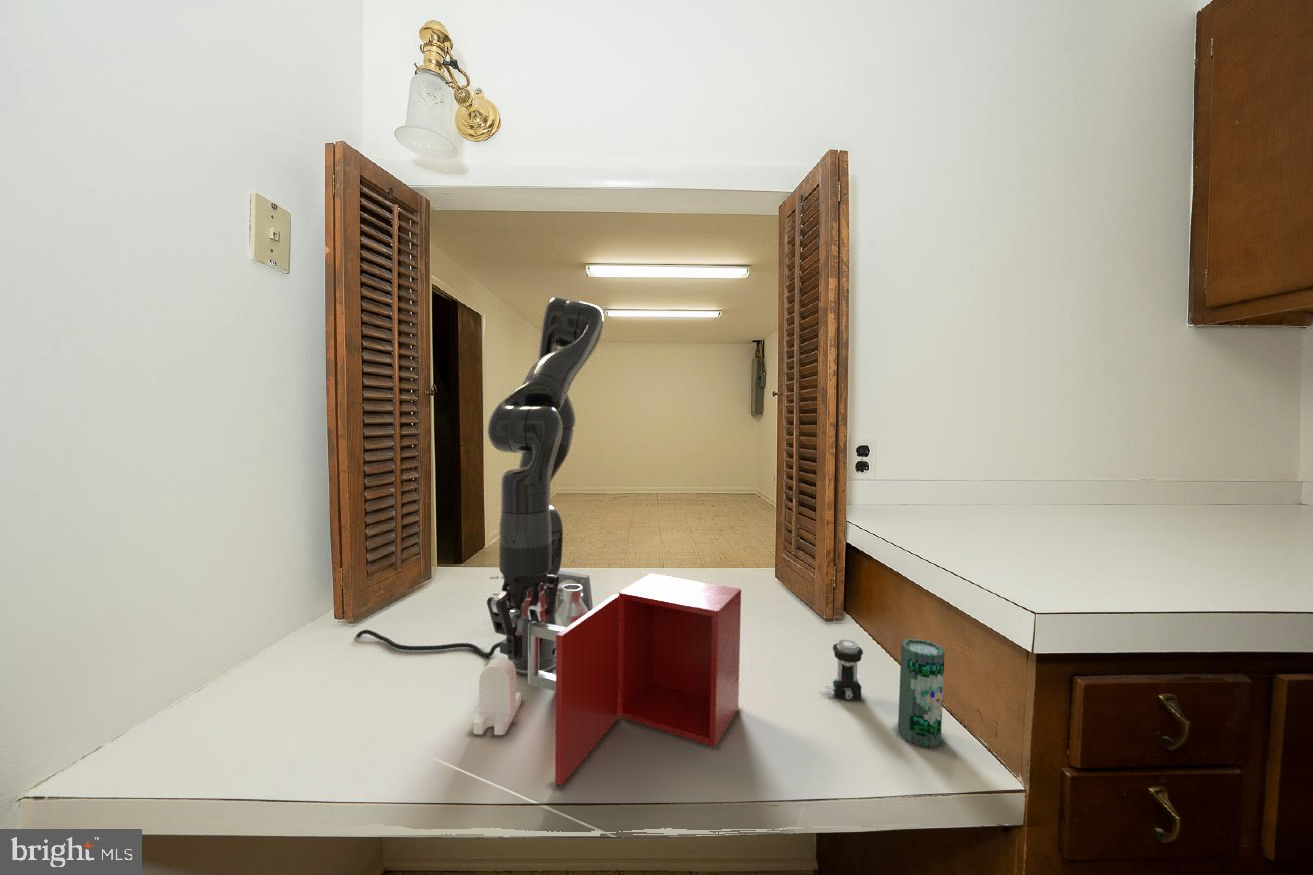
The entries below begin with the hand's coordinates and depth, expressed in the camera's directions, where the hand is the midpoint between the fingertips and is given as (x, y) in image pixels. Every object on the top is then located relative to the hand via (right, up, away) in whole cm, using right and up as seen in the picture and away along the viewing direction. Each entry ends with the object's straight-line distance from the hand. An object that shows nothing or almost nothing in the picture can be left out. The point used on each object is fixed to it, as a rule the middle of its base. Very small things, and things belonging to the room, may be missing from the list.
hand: (525, 651), depth 80 cm
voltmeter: (-10, -14, +60) cm, 62 cm away
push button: (+55, -17, +21) cm, 61 cm away
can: (+63, -18, +9) cm, 66 cm away
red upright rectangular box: (+24, -17, +14) cm, 32 cm away
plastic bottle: (+4, -16, +21) cm, 26 cm away
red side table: (+6, -17, +5) cm, 18 cm away
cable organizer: (-8, -16, +12) cm, 22 cm away
